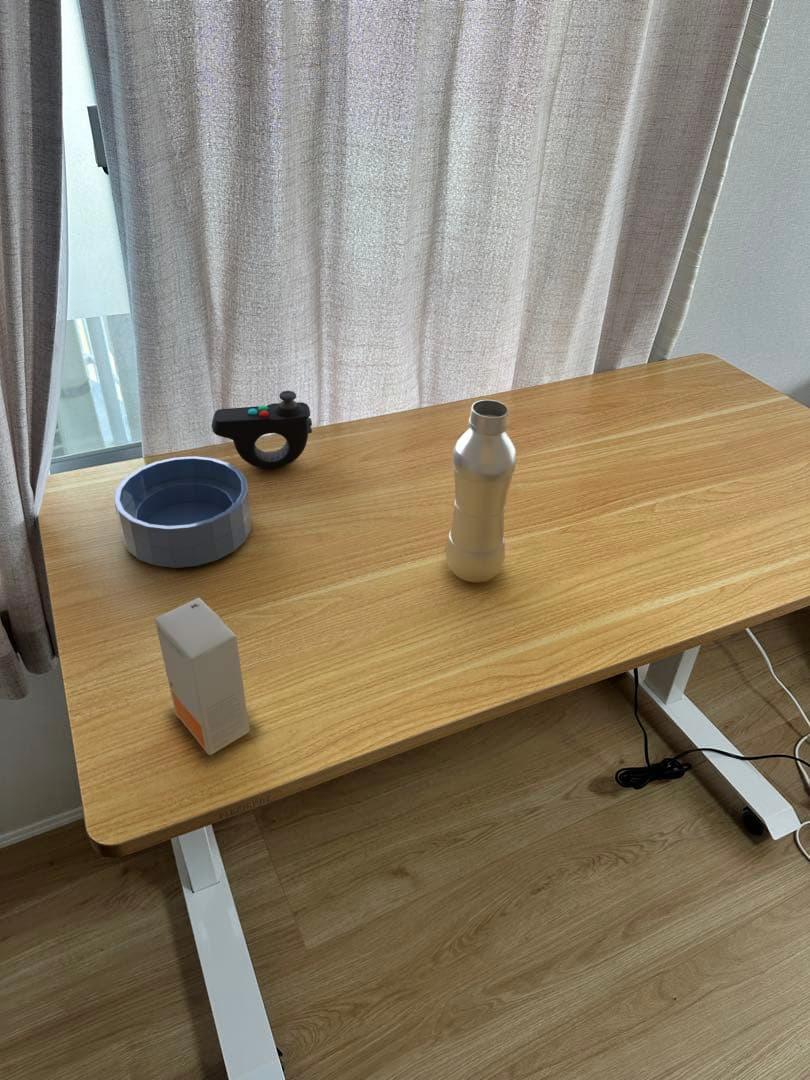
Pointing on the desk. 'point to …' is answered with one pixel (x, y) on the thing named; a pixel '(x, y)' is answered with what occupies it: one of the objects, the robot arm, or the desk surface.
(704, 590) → the desk surface
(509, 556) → the desk surface
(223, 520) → the bowl
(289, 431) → the controller
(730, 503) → the desk surface
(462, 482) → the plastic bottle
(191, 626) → the cosmetic box
